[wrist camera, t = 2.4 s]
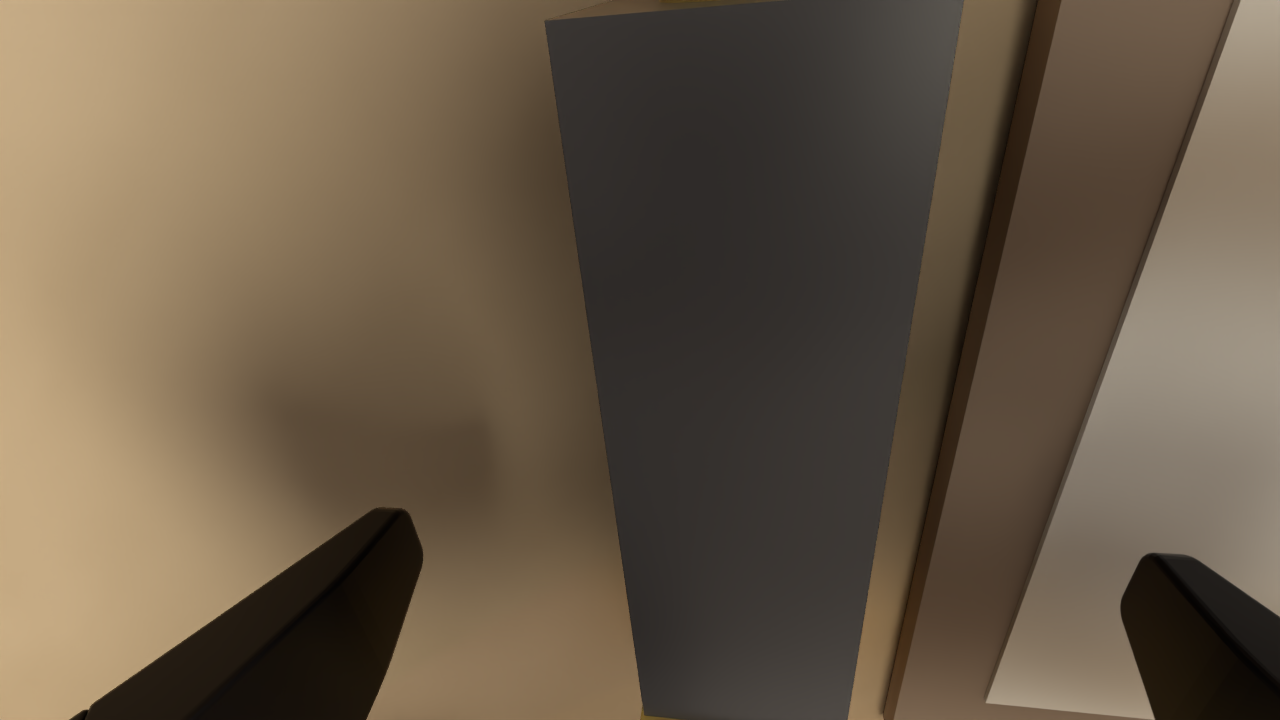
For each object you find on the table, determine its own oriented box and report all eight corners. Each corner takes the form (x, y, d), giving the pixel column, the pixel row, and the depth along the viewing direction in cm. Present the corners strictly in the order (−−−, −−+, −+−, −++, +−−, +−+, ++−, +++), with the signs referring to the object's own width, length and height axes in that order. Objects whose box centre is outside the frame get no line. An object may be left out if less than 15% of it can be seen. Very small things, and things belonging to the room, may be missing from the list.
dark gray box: (820, 650, 13) (835, 821, 11) (671, 637, 14) (651, 796, 11) (922, -283, 6) (1057, -479, 3) (591, -232, 6) (476, -362, 4)
